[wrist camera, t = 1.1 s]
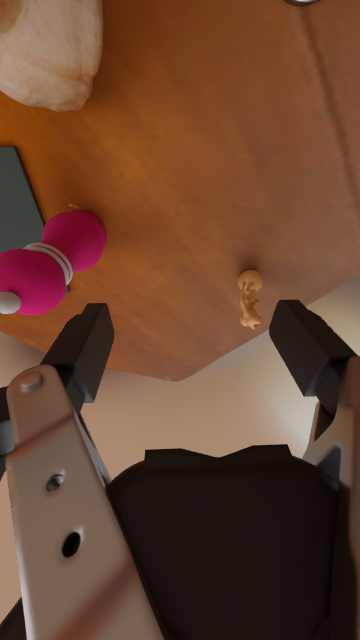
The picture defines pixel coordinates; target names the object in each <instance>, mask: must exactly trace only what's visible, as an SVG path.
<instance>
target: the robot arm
mask: <svg viewBox="0 0 360 640" xmlns="http://www.w3.org/2000/svg"><path fill="white" fill-rule="evenodd" d="M284 1H285V2H287V3H289V4H291V5H294V6H307V5H311V4H313V3H316V2H318V1H320V0H284ZM269 334H270V337H271V340H272V341H273V343H274V345H275V347H276V348H277V350H278V352H279V354H280V355H281V357H282V359H283V360H284V362H285V364H286V366H287V368H288V369H289V371H290V373H291V375H292V376H293V378H294V380H295V382H296V384H297V385H298V387H299V389H300V391H301V392H302V394H303V396H304V397H306V396H307V397H308V396H317V398H318V399H319V402H318V403H317V404H316V408H315V413H314V418H313V423H312V428H311V434H310V439H309V444H308V447H307V450H306V452H305V454H304V456H303V458H302V459H300V458H298V457H295V456H292V454H291V452H290V450H289V447H288V445H287V444H282V445H281V444H280V445H257V446H256V445H255V446H250V447H248V448H245V449H242V450H240V451H237V452H234V453H232V454H229V455H226V456H223V457H218V458H217V457H212V456H209V455H205V454H201V453H197V452H192V451H189V450H185V449H154V450H145V460H144V461H141V462H138V463H136V464H134V465H132V466H131V467H129V468H127V469H126V470H124V471H123V472H121V473H120V474H119V475H118V476H117V477H115V478H114V479H113V480H112V479H111V477H110V475H109V473H108V471H107V469H106V467H105V465H104V463H103V461H102V459H101V457H100V455H99V453H98V451H97V448H96V446H95V444H94V441H93V439H92V437H91V435H90V432H89V430H88V428H87V426H86V424H85V421H84V419H83V417H82V415H81V413H80V411H81V408H82V406H83V403H94V400H95V397H96V394H97V391H98V388H99V384H100V381H101V378H102V375H103V372H104V369H105V366H106V363H107V360H108V357H109V354H110V351H111V347H112V344H113V341H114V329H113V325H112V321H111V317H110V313H109V309H108V306H107V304H106V303H89V304H87V306H86V307H85V309H84V311H83V312H82V314H77V315H75V316H74V317H73V318H72V319H70V320H69V321H68V322H67V323H66V325H65V326H64V328H63V329H62V332H60V334H59V336H58V339H56V340H55V342H54V343H53V345H52V346H51V348H50V349H49V351H48V352H47V354H46V356H45V357H44V359H43V360H42V362H41V363H40V365H39V366H35V367H32V368H29V369H27V370H25V371H23V372H22V373H20V374H19V375H17V376H16V377H15V378H14V379H13V380H12V381H11V383H10V384H9V386H7V387H3V388H0V481H1V478H2V476H3V474H4V472H5V470H6V471H7V480H8V488H9V496H10V504H11V512H12V520H13V528H14V536H15V544H16V553H17V560H18V569H19V577H20V585H21V593H22V597H21V598H20V599H19V600H18V602H17V603H16V604H15V606H14V607H13V608H12V610H11V611H10V612H9V613H8V615H7V616H6V617H5V619H4V620H3V621H2V623H1V624H0V640H360V356H358V355H357V354H356V353H355V352H354V351H353V350H352V349H351V348H350V347H349V346H348V345H347V344H346V343H345V342H344V341H343V340H342V339H341V338H340V337H339V336H338V335H337V334H336V333H334V331H333V329H331V327H329V326H327V323H326V322H325V321H324V320H323V319H322V318H321V317H320V316H318V315H317V314H315V313H313V312H312V311H310V310H308V309H307V308H306V307H305V306H304V305H303V304H302V303H301V302H300V301H299V300H280V301H279V302H278V303H277V305H276V308H275V311H274V314H273V317H272V320H271V323H270V327H269Z"/></svg>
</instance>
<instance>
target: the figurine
mask: <svg viewBox="0 0 360 640" xmlns="http://www.w3.org/2000/svg"><path fill="white" fill-rule="evenodd" d="M262 283H263V279H262V276H261V274H260V273H259V272H257V271H255V270H247V271H245V272H243V273H242V274H241V275H240V277H239V279H238V285H239V288H240V289H241V295H240V304H241V307H242V310H243V312H242V314H241V317H240V322H241V324H242V325H244V326H250V327H251V328H252V329H256V327H257V326H258V325H259V324H260V323H261V322H262V317H260V316H257V312H256V310H255V308H256V306H257V305H258V303H259V302H260V301H259V300H258V299H256V298H255V295H256V291H258V290H259V289H260V288H261V286H262ZM244 292H245V293H247V294H249V295H248V296H247V297H246V299H245V302H244ZM245 303H246V305H245ZM254 324H255V325H254Z"/></svg>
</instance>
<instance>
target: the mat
mask: <svg viewBox="0 0 360 640" xmlns="http://www.w3.org/2000/svg"><path fill="white" fill-rule="evenodd" d="M44 227H45V222H44V219H43V217H42V214H41V211H40V209H39V206H38V203H37V201H36V198H35V195H34V193H33V190H32V187H31V185H30V182H29V179H28V176H27V174H26V171H25V168H24V166H23V163H22V160H21V158H20V155H19V152H18V150H17V147H0V254H1V253H3V252H5V251H7V250H11V249H22V248H24V247H25V246H27V245H29V244H32V243H41V242H42V233H43V230H44ZM69 291H70V289H69V286H68V285H67V286H66V292H69Z"/></svg>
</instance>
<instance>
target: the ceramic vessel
mask: <svg viewBox="0 0 360 640" xmlns="http://www.w3.org/2000/svg"><path fill="white" fill-rule="evenodd" d="M103 31H104V16H103V0H0V91H2V92H3V93H4V94H6V95H7V96H9V97H10V98H12V99H14V100H16V101H18V102H20V103H22V104H24V105H26V106H30V107H37V108H47V109H50V110H53V111H55V112H61V113H64V112H66V111H78V110H79V109H81V108H82V107H83V106H84V105H85V103H86V101H87V99H88V98H89V97H90V96H91V95H92V88H93V78H94V76H95V75H96V74H97V72H98V70H99V66H100V63H101V59H102V51H103Z"/></svg>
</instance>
